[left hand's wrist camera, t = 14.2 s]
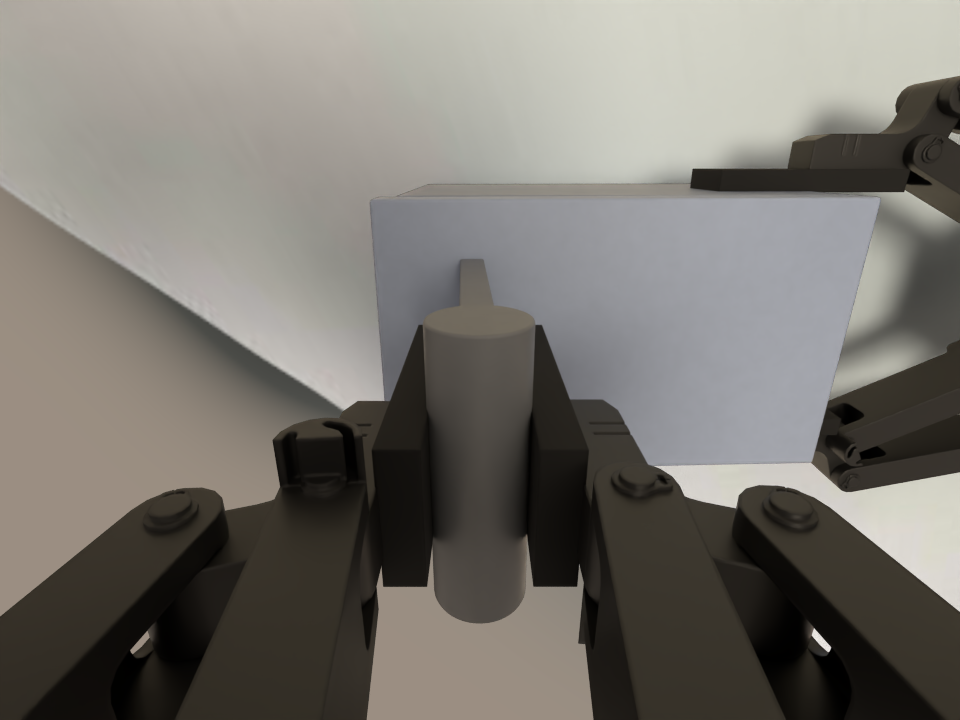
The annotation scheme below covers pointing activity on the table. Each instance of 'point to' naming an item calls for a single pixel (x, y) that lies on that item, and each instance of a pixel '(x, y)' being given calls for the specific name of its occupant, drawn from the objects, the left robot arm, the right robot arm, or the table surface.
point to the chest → (580, 190)
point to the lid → (608, 340)
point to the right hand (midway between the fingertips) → (687, 305)
